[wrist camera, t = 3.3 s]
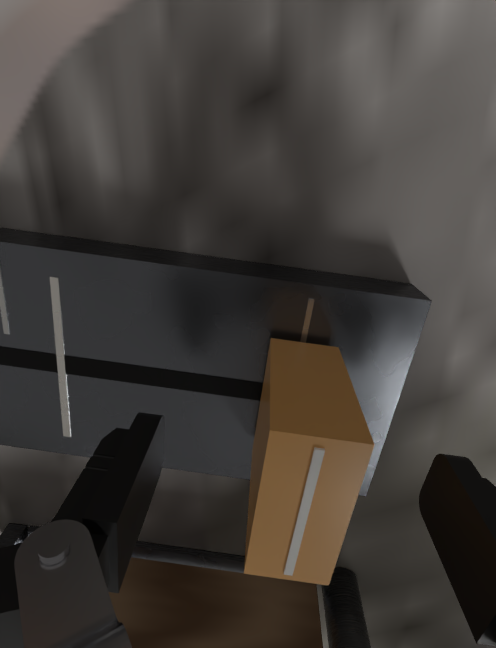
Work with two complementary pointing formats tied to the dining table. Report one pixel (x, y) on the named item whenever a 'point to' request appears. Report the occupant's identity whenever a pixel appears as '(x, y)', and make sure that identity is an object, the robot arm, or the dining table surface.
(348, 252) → the dining table surface
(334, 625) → the frame
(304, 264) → the dining table surface
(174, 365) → the console
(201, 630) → the door
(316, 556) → the fader
